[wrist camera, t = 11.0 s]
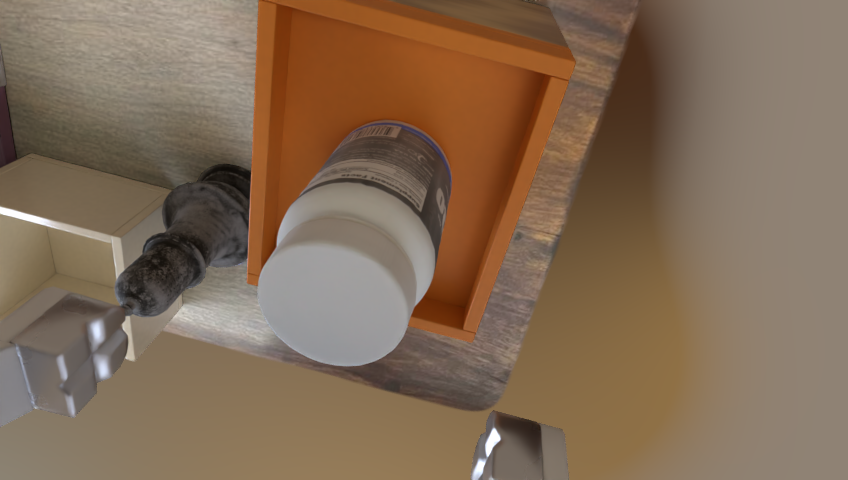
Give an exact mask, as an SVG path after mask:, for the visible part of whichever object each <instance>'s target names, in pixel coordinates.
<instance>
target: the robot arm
mask: <svg viewBox="0 0 848 480" xmlns="http://www.w3.org/2000/svg"><path fill="white" fill-rule="evenodd" d="M125 320H126V318H125V312H124V308H122V307H119V306H117V305H114V304H110V303H107V302H104V301H101V300H97V299H94V298H91V297H88V296H85V295H81V294H78V293H74V292H71V291H67V290H64V289H61V288H57V287H54V286H52V287H49V288H45V289H43V290H41V291H40V292H39V293H37V294H36V295H35V296H33V297H32V298H31V299H29V300H28V301H27V302H25V303H24V304H23V305H21V306H20V307H19V308H17V309H16V310H15V311H13V312H12V313H11V314H9V315H8V316H7V317H5V318H4V319H3V320H2V321H0V427H1V426H3V425H5V424H7V423H9V422H11V421H13V420H15V419H16V418H19V417H20V416H22V415H24V414H26V413H28V412H30V411H32V410H33V408H36V409H40V410H45V411H48V412H52V413H56V414H60V415H64V416H68V417H72V418H74V417H75V416H76V415H77V414H78V412H80V411H81V410H82V408H83V407H84V406H85V405H86V404H87V403H88V402H89V401H90V400H91V399H92V397H93V396H94V395H95V394H96V393H97V383H98V382H101V381H103V380H105V379H108V378H110V377H112V376H113V374H114V373H115V372H116V371H117V370H118V369H119V367H120V366H121V364H122V362H123V360H124V358H125V356H126V354H127V350H128V344H129V343H128V335H127V334H126V332H125V331H124V330H123V329H122V327H121V326H120V325H121V324H122V323H123V322H124V321H125ZM471 480H569V474H568V463H567V453H566V443H565V434H564V432H563V430H562V429H559V428H555V427H552V426H548V425H545V424H541V423H537V422H534V421H531V420H527V419H523V418H519V417H516V416H512V415H509V414H505V413H501V412H497V411H494V410H493V411H492V412H491V413H490V415H489V417H488V420H487V424H486V432H485V433H483V434H481V435H480V438H479V440H478V443H477V446H476V450H475V453H474V457H473V462H472V469H471Z"/></svg>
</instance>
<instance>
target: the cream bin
mask: <svg viewBox="0 0 848 480" xmlns="http://www.w3.org/2000/svg"><path fill="white" fill-rule="evenodd" d="M171 191H172V190H170V189H166V188H162V187H158V186H155V185H151V184H147V183H143V182H139V181H136V180H132V179H128V178H124V177H120V176H117V175H113V174H109V173H105V172H102V171H98V170H94V169H90V168H86V167H83V166H79V165H75V164H71V163H67V162H64V161H60V160H56V159H52V158H48V157H45V156H41V155H37V154H33V153H30V154H28V155H26V156H25V157H22V158H20V159H18V160H16V161H14V162H12V163H10V164H7V165H5V166H3V167H1V168H0V321H2V320H3V319H4V318H5V317H7V316H8V315H9V314H11V313H12V312H13V311H15V310H16V309H17V308H19V307H20V306H21V305H23V304H24V303H25V302H27V301H28V300H29V299H31V298H32V297H33V296H35V295H36V294H37V293H39V292H40V291H41V290H43V289H45V288H49V287H52V286H54V287H57V288H61V289H64V290H67V291H71V292H74V293H78V294H81V295H85V296H88V297H91V298H94V299H97V300H101V301H104V302H107V303H110V304H114V305H117V306H120V304H119V302H118V301H117V298H116V296H115V289H114V287H115V282H116V280H117V278H118V277H119V275H120V274H121V273H122V272H123V271H124V270H125V269H126V268H127V267H128V266H129V265H131V264H132V263H133V262H134V261H135V260H136V259H137V258H138V257H140V256H141V255H142V254H143V253H142V251H143V245H144V244H145V242H146V240H147V239H148V238H150V237H151V236H152V235H155V234H158V233H164V232H165V231H166V229H165V226H164V224H163V218H162V208H163V203H164V200H165V199H166V197H167V195H168V194H169V193H170V192H171ZM182 306H183V301H182V294H181V295H180V296H179V297H178V298H177V299H176V300H175V301H174V303H173V304H172V305H171V306H170V307H169V308H168V309H167V310H166V311H165V312H163V313H161V314H160V315H158V316H155V317H139V316H136V315H133V314H132V315H131V316H126V317H125V318H126V320H125V321H124V322H123V323H122V324H121V325H120V326H121V327H122V329H123V330H124V331H125V332H126V334H127V335H128V343H129V344H128V350H127V354H126V356H125V358H124V359H127V360H131V361H136V360H137V359H138V358H139V356H140V355H141V354H142V353H143V352H144V350H145V349H146V348H147V347H148V346H149V345H150V344H151V342H152V341H153V340H154V339H155V338H156V336H157V335H158V334H159V333H160V332H161V331H162V329H163V328H164V327H165V326H166V325H167V324H168V322H169V321H170V320H171V319H172V318H173V317H174V315H175V314H176V313H177V312H178V311H179V310H180V308H181V307H182Z"/></svg>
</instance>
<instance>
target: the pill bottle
mask: <svg viewBox="0 0 848 480" xmlns="http://www.w3.org/2000/svg"><path fill="white" fill-rule="evenodd" d="M451 189H452V173H451V168H450V165H449V162H448V160H447V157H446V155H445V153H444V152H443V150H442V148H441V147H440V146H439V144H438V143H437V142H436V141H435V140H434V139H433V138H432V137H431V136H430V135H428V134H427V133H425V132H424V131H423V130H421V129H419V128H417V127H415V126H413V125H410V124H408V123H405V122H401V121H396V120H380V121H374V122H370V123H367V124H365V125H362V126H360V127H358V128H357V129H355V130H354V131H352V132H351V133H350V134H349V135H348V136H347V137H346V138H345V139H344V140H343V141H342V142H341V143H340V144H339V145H338V147H337V148H336V149H335V151H334V152H333V153H332V154H331V155H330V157H329V158H328V160H327V161H326V162H325V164H324V165H323V166H322V168H321V169H320V170H319V171H318V173H317V174H316V175H315V176H314V177H313V179H312V180H311V181H310V183H309V184H308V185H307V187H306V188H305V189H304V190H303V191H302V192H301V194H300V195H299V197H298V198H297V199H296V200H295V201H294V202H293V203H292V204H291V205H290V207H289V209H288V210H287V212H286V214H285V216H284V218H283V220H282V223H281V225H280V228H279V231H278V236H277V247H276V249H275V250H274V252H273V253H272V255H271V256H270V257H269V259H268V260H267V262H266V263H265V265H264V267H263V269H262V271H261V273H260V277H259V281H258V288H257V295H258V301H259V305H260V308H261V311H262V314H263V316H264V318H265V320H266V321H267V323H268V325H269V326H270V328H271V329H272V330H273V332H274V333H275V334H276V335H277V336H278V337H279V338H280V339H281V340H282V341H284V342H285V343H286V344H287V345H288V346H290V347H291V348H292V349H294V350H295V351H297V352H299V353H301V354H302V355H304V356H306V357H308V358H310V359H313V360H316V361H318V362H322V363H327V364H331V365H338V366H358V365H363V364H367V363H371V362H374V361H376V360H378V359H380V358H382V357H384V356H385V355H387V354H388V353H390V352H391V351H392V350H393V349H394V348H395V347H396V346H397V345H398V344H399V342H400V341H401V339H402V338H403V336H404V334H405V332H406V329H407V326H408V323H409V320H410V317H411V314H412V312H413V309H414V307H415V306H416V305H417V304H418V303H419V301H420V300H421V299H422V298H423V296H424V295H425V293H426V292H427V290H428V288H429V286H430V284H431V282H432V279H433V276H434V273H435V268H436V263H437V258H438V251H439V246H440V243H441V237H442V233H443V228H444V225H445V220H446V215H447V210H448V204H449V200H450V196H451Z"/></svg>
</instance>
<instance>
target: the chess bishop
mask: <svg viewBox="0 0 848 480" xmlns="http://www.w3.org/2000/svg"><path fill="white" fill-rule="evenodd" d="M250 190H251V172H249V171H247V170H245V169H243V168H241V167H239V166H234V165H230V164H219V165H216V166H213V167H210V168H208V169H207V170H206V171H204V172H203V173H202V174H201V176H200V177H199V179H198V180H197V182H196V183H186V184H183V185H180V186H178V187H176V188H175V189H174V190H172V191H171V192H170V193H169V194H168V195H167V197H166V199H165V200H164V203H163V208H162V218H163V224H164V226H165V229H166V231H165V232H164V233H158V234H155V235H152V236H151V237H150V238H148V239H147V240H146V242H145V244H144V245H143V251H142V253H143V254H142V255H141V256H140V257H138V258H137V259H136V260H135V261H134V262H133V263H132V264H131V265H129V266H128V267H127V268H126V269H125V270H124V271H123V272H122V273H121V274H120V275H119V277H118V278H117V280H116V282H115V287H114V289H115V296H116V298H117V301H118V302H119V304H120V306H119V307H122V308H124V312H125V317H126V316H131V315H132V314H133V315H136V316H139V317H155V316H158V315H160V314H161V313H163V312H165V311H166V310H167V309H168V308H169V307H170V306H171V305H172V304H173V303H174V301H175V300H176V299H177V298H178V297H179V296H180V295H181V294H182V292H183V291H184V290H185V289H189V288H192V287H195V286H197V285H198V284H200V283H201V282H202V280H203V279H204V278H205V274H206V268H207V266H208V265H209V266H213V267H231V266H235V265H238V264H240V263H241V262H243V261H245V260H246V259H247V258H248V237H249V213H250Z"/></svg>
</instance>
